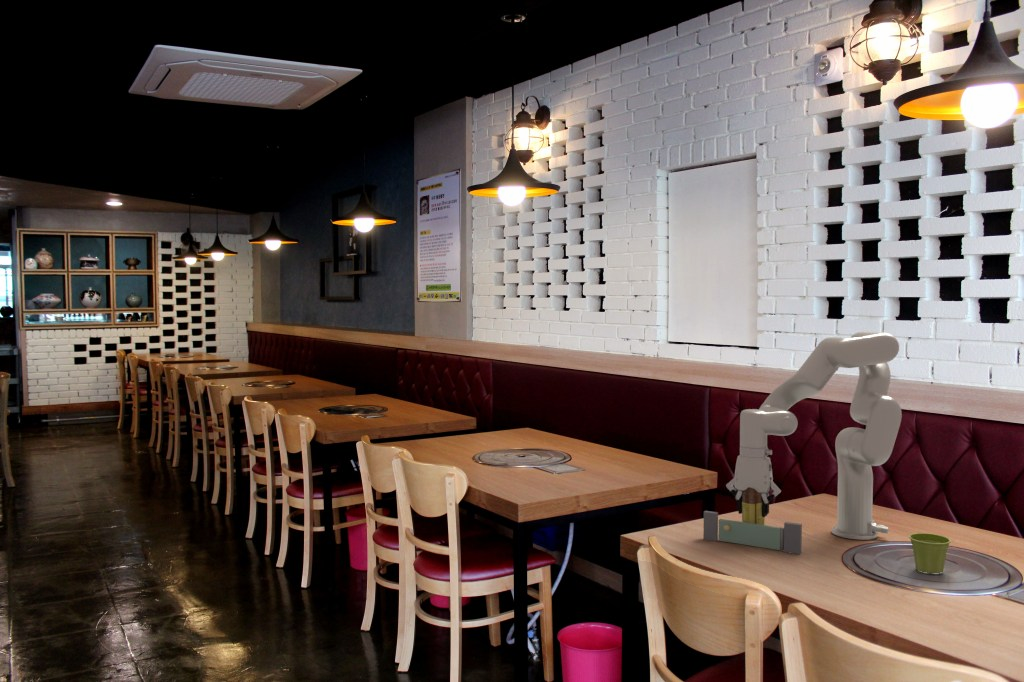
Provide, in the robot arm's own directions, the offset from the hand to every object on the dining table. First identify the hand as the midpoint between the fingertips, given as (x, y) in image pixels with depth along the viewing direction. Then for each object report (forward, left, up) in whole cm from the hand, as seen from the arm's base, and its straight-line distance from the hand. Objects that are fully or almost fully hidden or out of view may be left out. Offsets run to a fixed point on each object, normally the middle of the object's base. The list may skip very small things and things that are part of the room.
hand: (752, 513), depth 232 cm
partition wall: (-1, +7, -7) cm, 10 cm away
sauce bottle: (0, 0, -7) cm, 7 cm away
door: (-1, +7, -7) cm, 10 cm away
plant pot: (-46, +5, -8) cm, 47 cm away
